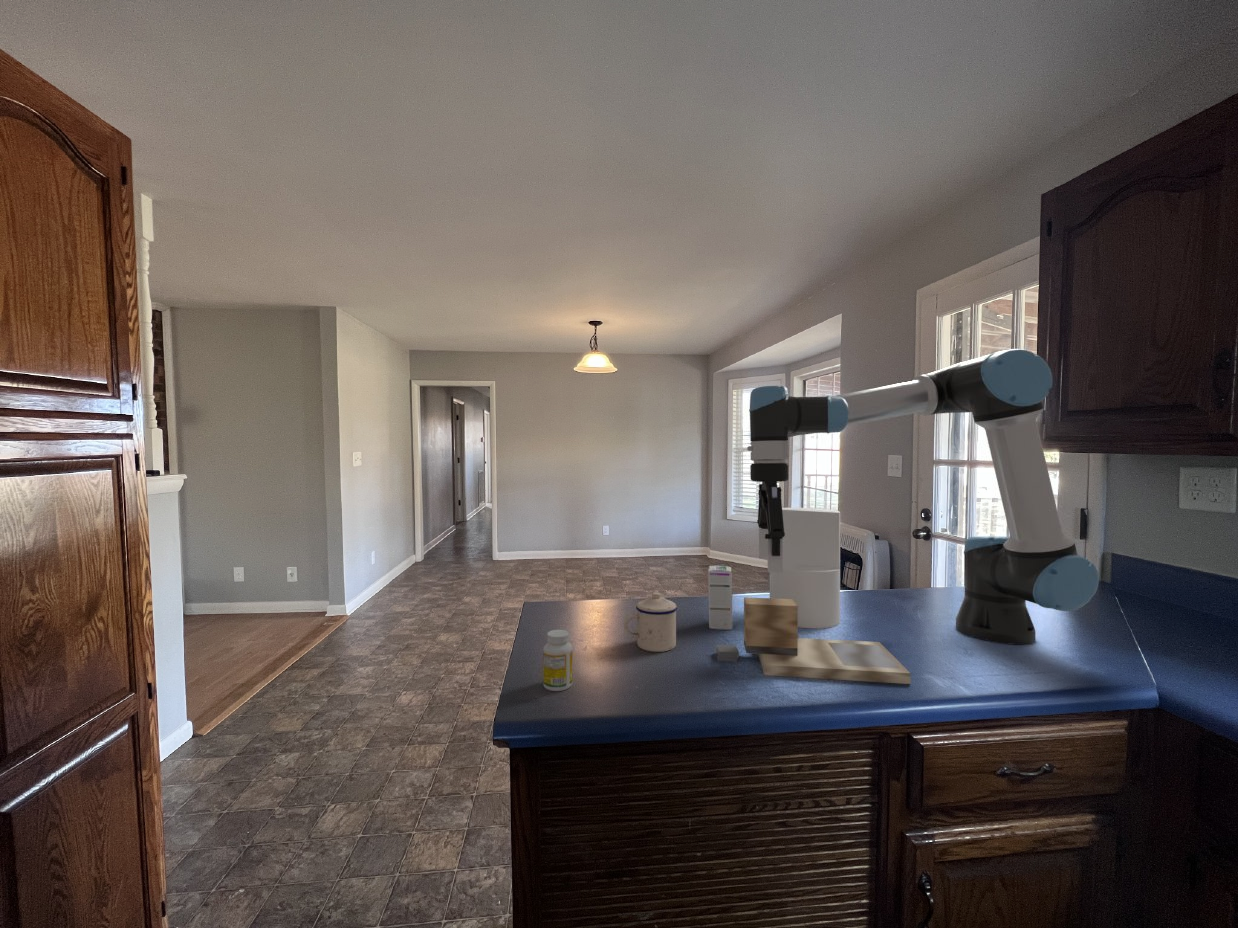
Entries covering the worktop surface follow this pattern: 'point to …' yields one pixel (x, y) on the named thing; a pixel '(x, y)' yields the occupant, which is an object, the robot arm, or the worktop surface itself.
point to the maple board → (837, 662)
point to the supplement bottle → (557, 661)
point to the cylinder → (810, 566)
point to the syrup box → (720, 597)
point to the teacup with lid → (654, 624)
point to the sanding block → (771, 626)
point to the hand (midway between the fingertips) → (770, 565)
